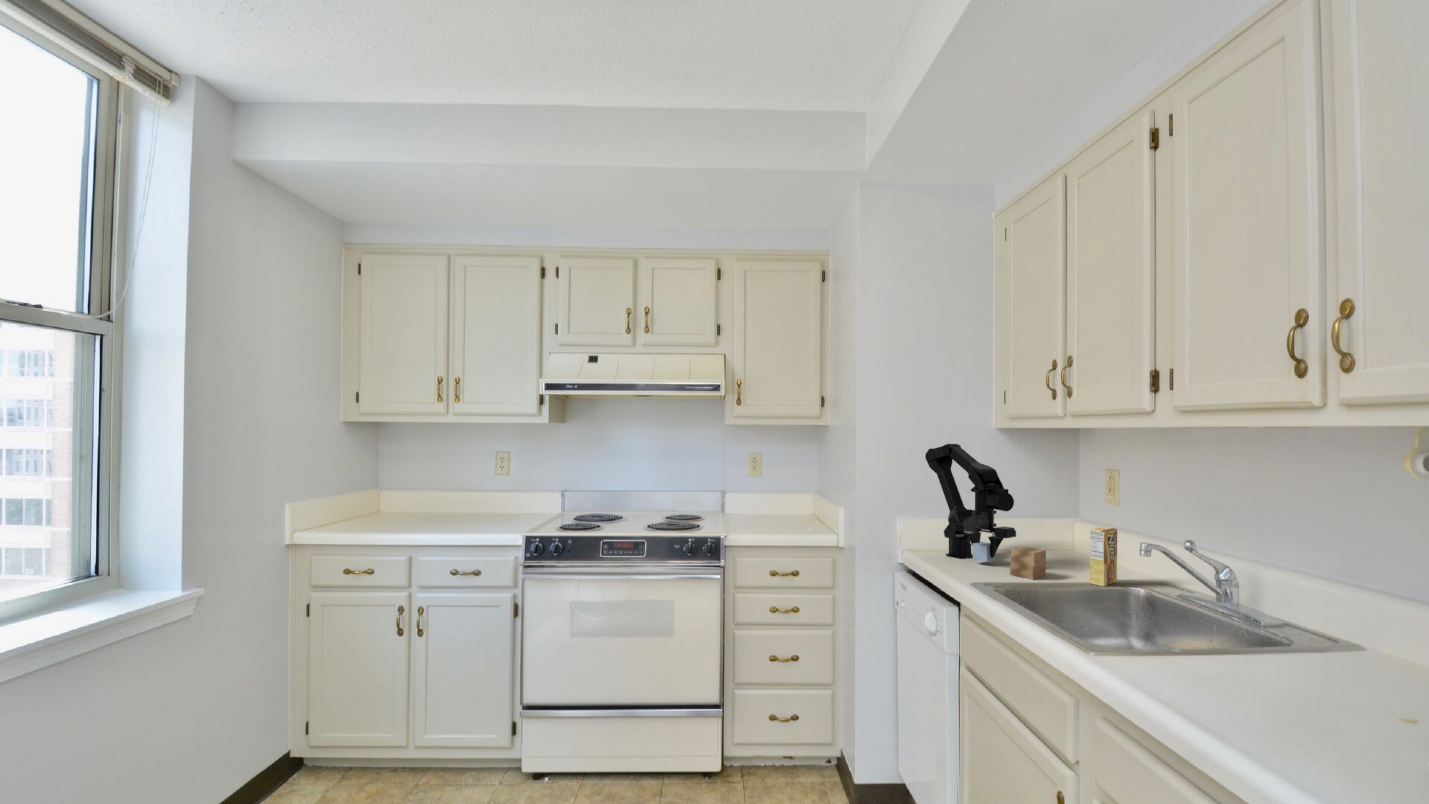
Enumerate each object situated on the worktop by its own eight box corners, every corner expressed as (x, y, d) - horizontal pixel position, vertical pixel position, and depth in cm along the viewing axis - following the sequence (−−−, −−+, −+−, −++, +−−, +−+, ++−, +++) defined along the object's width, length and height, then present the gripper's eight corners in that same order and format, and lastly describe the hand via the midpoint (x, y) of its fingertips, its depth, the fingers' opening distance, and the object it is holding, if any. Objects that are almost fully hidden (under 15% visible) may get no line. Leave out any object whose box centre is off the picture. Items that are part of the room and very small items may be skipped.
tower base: (1010, 575, 205) (1010, 562, 205) (1023, 572, 209) (1022, 559, 209) (1032, 580, 199) (1032, 566, 199) (1045, 577, 203) (1045, 563, 203)
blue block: (972, 559, 221) (972, 543, 221) (982, 557, 224) (982, 541, 224) (986, 561, 217) (986, 545, 217) (996, 559, 220) (996, 544, 220)
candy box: (1102, 579, 201) (1102, 526, 201) (1118, 582, 197) (1117, 528, 198) (1089, 583, 195) (1089, 529, 195) (1105, 586, 192) (1105, 531, 192)
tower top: (1011, 562, 205) (1010, 549, 205) (1022, 559, 209) (1022, 546, 209) (1034, 566, 199) (1034, 552, 199) (1045, 563, 203) (1045, 550, 204)
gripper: (943, 505, 224) (943, 554, 223) (996, 512, 208) (996, 564, 208) (964, 503, 230) (964, 550, 230) (1017, 509, 215) (1017, 560, 215)
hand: (984, 556), depth 220 cm, fingers closed on blue block, 5 cm apart
